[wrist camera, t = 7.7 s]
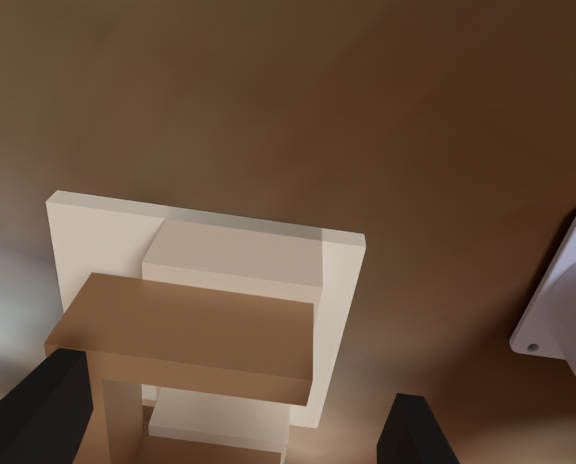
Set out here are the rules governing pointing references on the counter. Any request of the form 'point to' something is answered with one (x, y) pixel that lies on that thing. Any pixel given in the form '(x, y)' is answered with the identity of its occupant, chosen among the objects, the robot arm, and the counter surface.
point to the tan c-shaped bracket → (180, 360)
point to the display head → (219, 276)
